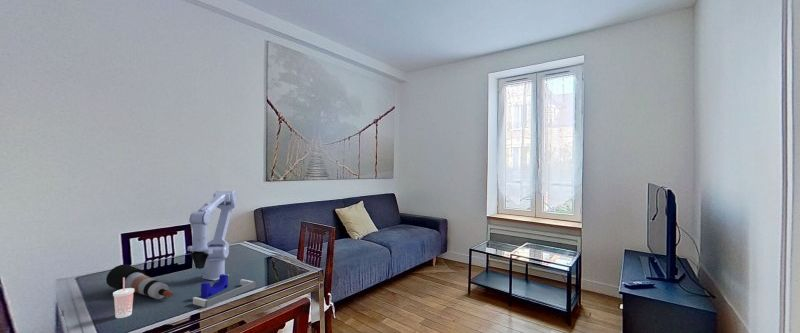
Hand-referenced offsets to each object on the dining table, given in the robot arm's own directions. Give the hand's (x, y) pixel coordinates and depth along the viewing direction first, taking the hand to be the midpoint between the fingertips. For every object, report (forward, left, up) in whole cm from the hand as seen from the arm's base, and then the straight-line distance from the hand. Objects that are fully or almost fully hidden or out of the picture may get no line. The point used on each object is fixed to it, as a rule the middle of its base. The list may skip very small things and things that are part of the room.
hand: (199, 268), depth 142 cm
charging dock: (+17, 0, -9) cm, 19 cm away
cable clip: (+9, 0, -10) cm, 13 cm away
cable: (-17, -14, -10) cm, 24 cm away
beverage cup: (-1, -28, -10) cm, 30 cm away
